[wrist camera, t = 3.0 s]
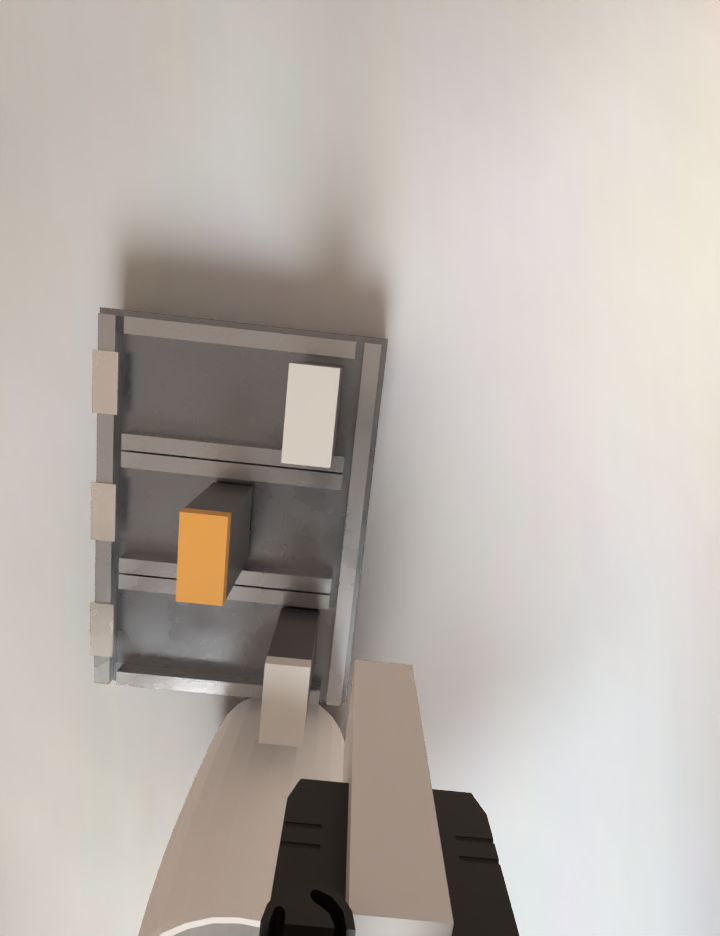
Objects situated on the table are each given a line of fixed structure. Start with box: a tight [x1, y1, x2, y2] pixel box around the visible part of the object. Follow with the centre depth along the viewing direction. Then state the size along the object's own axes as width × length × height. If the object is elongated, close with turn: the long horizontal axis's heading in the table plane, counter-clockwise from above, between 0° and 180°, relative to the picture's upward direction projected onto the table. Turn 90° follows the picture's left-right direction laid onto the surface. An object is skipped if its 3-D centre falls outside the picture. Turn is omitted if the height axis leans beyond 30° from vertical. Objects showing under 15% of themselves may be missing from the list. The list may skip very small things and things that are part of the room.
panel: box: [90, 307, 388, 706], centre depth 29 cm, size 14×20×3 cm
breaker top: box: [281, 362, 344, 468], centre depth 24 cm, size 2×4×5 cm, turn 174°
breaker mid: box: [176, 482, 253, 606], centre depth 26 cm, size 2×4×5 cm, turn 174°
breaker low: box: [258, 608, 319, 747], centre depth 27 cm, size 2×4×5 cm, turn 174°
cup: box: [138, 698, 345, 936], centre depth 27 cm, size 8×8×14 cm
